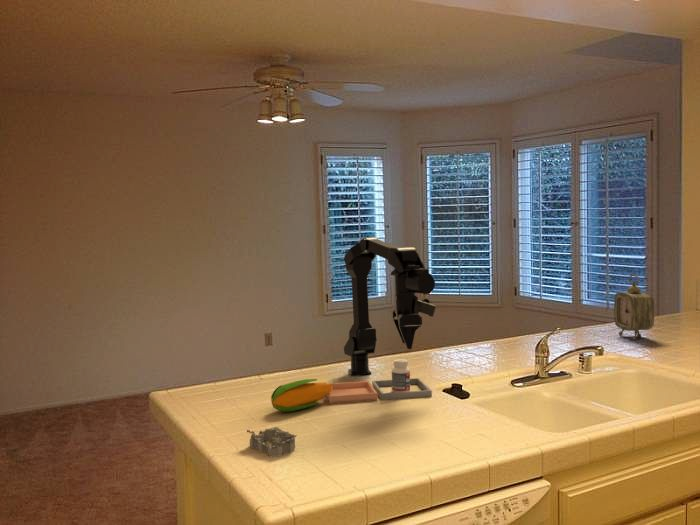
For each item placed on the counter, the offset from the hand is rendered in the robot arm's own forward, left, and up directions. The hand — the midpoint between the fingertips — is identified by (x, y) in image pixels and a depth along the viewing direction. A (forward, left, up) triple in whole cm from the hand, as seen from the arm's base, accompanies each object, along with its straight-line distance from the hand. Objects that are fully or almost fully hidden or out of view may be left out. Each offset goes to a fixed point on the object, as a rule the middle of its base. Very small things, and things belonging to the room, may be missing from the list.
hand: (407, 346), depth 186 cm
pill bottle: (-1, -2, -13) cm, 13 cm away
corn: (+8, -31, -13) cm, 35 cm away
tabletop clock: (-54, +104, -13) cm, 118 cm away
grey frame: (-1, -2, -13) cm, 13 cm away
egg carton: (+37, -40, -14) cm, 56 cm away
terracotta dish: (0, -17, -13) cm, 21 cm away
